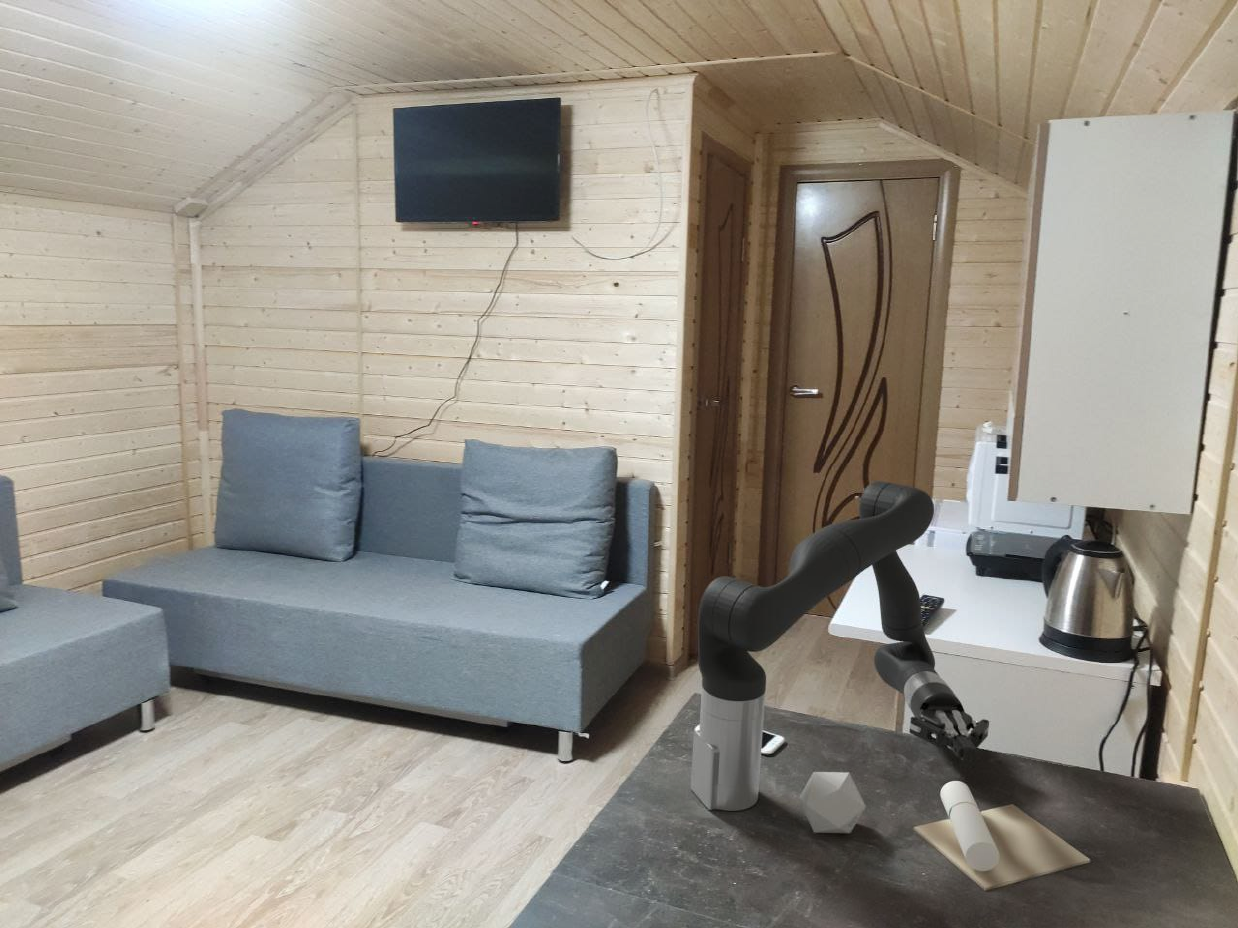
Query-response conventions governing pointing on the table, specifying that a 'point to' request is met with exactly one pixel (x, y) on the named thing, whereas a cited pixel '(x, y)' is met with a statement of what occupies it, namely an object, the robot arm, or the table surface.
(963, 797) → the tube
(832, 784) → the die
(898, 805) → the table surface
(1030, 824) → the birch board
